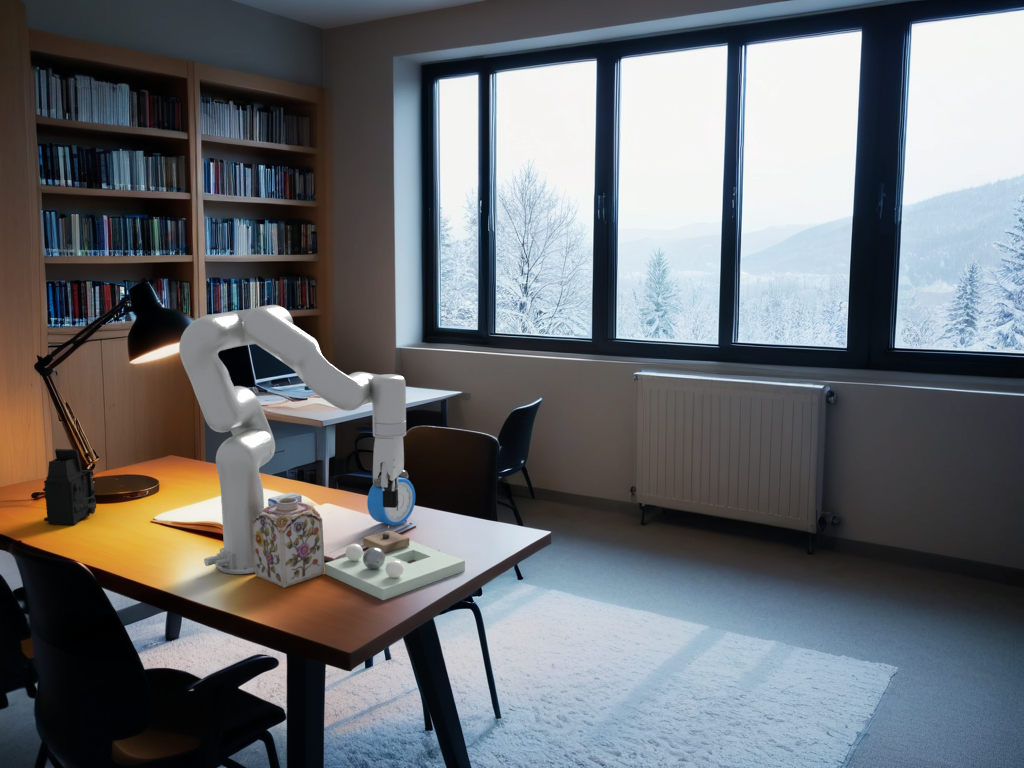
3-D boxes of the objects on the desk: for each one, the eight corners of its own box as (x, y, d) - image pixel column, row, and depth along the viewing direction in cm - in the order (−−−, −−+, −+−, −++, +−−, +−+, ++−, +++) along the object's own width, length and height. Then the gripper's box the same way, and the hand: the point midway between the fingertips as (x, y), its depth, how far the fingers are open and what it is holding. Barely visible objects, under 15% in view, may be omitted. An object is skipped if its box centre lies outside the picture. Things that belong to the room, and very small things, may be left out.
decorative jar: (295, 562, 207) (293, 490, 204) (326, 574, 200) (323, 499, 197) (252, 576, 198) (249, 501, 195) (282, 589, 191) (279, 511, 188)
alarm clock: (382, 531, 229) (381, 477, 227) (366, 527, 233) (365, 473, 231) (416, 519, 240) (415, 467, 237) (400, 515, 243) (399, 464, 241)
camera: (105, 511, 246) (100, 443, 243) (76, 526, 233) (71, 454, 230) (72, 510, 247) (66, 442, 244) (42, 525, 234) (35, 453, 231)
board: (383, 600, 185) (383, 589, 184) (324, 573, 200) (324, 563, 199) (464, 570, 202) (464, 560, 202) (405, 548, 217) (405, 538, 217)
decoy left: (352, 564, 199) (352, 548, 198) (342, 560, 201) (342, 544, 201) (366, 560, 201) (366, 544, 201) (356, 556, 204) (356, 540, 204)
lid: (383, 553, 205) (383, 541, 205) (363, 545, 210) (362, 533, 210) (409, 545, 211) (409, 533, 210) (389, 537, 216) (388, 526, 216)
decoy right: (393, 582, 188) (393, 564, 188) (382, 577, 191) (381, 560, 190) (407, 577, 191) (407, 560, 191) (396, 572, 194) (396, 555, 193)
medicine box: (293, 522, 237) (291, 491, 236) (303, 525, 235) (302, 494, 233) (268, 529, 231) (267, 498, 230) (278, 532, 229) (277, 501, 227)
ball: (372, 574, 193) (371, 553, 192) (358, 568, 196) (358, 547, 195) (389, 568, 196) (389, 547, 196) (376, 563, 200) (375, 542, 199)
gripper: (382, 421, 204) (384, 496, 207) (363, 435, 189) (364, 515, 192) (413, 422, 203) (414, 498, 206) (396, 436, 188) (397, 517, 191)
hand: (390, 506), depth 199 cm, fingers closed
